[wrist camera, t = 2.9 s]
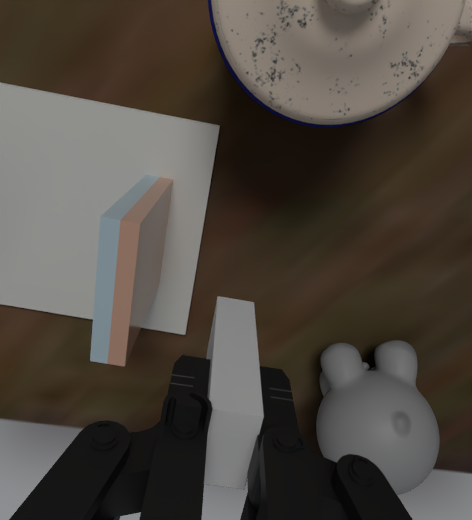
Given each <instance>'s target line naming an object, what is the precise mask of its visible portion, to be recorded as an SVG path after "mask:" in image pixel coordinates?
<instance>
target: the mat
mask: <svg viewBox="0 0 472 520" xmlns="http://www.w3.org/2000/svg"><path fill="white" fill-rule="evenodd" d="M219 129H220V125H215V124H210V123H205V122H200V121H194V120H189V119H184V118H179V117H174V116H169V115H164V114H159V113H154V112H148V111H143V110H138V109H133V108H128V107H123V106H118V105H113V104H108V103H102V102H97V101H92V100H87V99H82V98H77V97H72V96H67V95H62V94H56V93H51V92H46V91H41V90H36V89H31V88H26V87H21V86H16V85H10V84H5V83H0V304H3V305H9V306H15V307H21V308H27V309H33V310H39V311H45V312H51V313H57V314H63V315H69V316H75V317H81V318H87V319H93V314H94V300H95V286H96V272H97V258H98V244H99V230H100V217H101V215H103V214H104V213H105V212H106V211H107V210H108V209H109V208H110V207H111V206H112V205H114V204H115V203H116V202H117V201H118V200H119V199H120V198H121V197H122V196H123V195H124V194H126V193H127V192H128V191H129V190H130V189H131V188H132V187H133V186H134V185H135V184H137V183H138V182H139V181H140V180H141V179H142V178H143V177H144V176H145V175H146V174H147V175H153V176H158V177H163V178H169V179H173V185H172V193H171V200H170V208H169V215H168V223H167V230H166V238H165V245H164V253H163V260H162V268H161V276H160V283H159V286H158V289H157V291H156V293H155V296H154V298H153V300H152V303H151V305H150V308H149V310H148V312H147V315H146V317H145V320H144V322H143V324H142V327H141V328H147V329H153V330H159V331H165V332H171V333H177V334H183V335H185V333H186V328H187V322H188V316H189V310H190V304H191V298H192V292H193V286H194V280H195V274H196V267H197V261H198V255H199V249H200V243H201V237H202V231H203V225H204V219H205V213H206V207H207V201H208V195H209V189H210V183H211V177H212V171H213V165H214V159H215V153H216V147H217V141H218V135H219Z"/></svg>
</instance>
